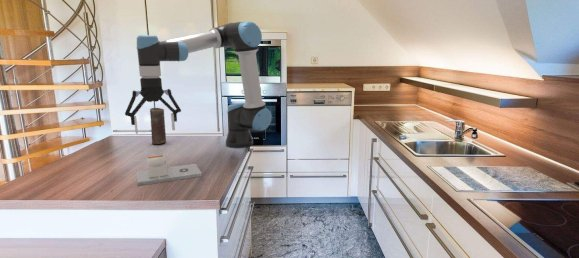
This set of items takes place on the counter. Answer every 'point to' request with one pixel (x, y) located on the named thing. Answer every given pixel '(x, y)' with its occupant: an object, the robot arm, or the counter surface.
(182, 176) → the panel
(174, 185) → the counter surface
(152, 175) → the knob
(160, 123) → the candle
